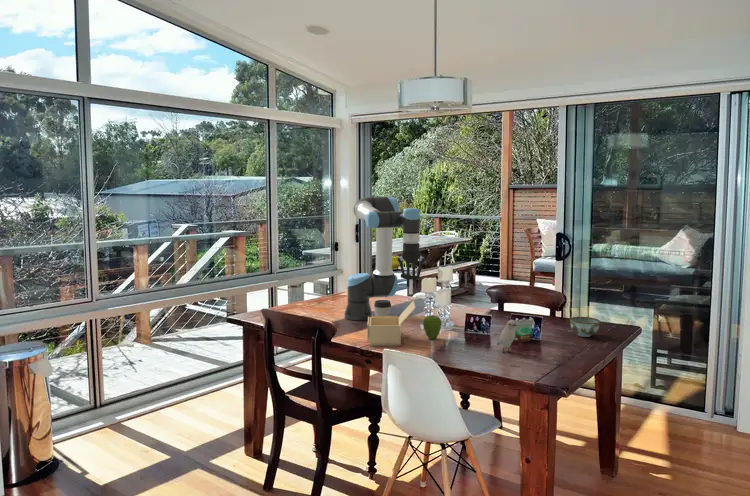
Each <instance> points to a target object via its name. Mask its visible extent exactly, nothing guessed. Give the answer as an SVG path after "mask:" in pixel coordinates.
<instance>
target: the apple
mask: <svg viewBox="0 0 750 496" xmlns="http://www.w3.org/2000/svg"><path fill="white" fill-rule="evenodd" d="M422 323H423V324H422V325H423V330H424V332H425V334H426V336H427V338H428V339H429V340H436V339H437V338H438V337H439V334H440V332H441V329H442V325H443V324H442V320H441V318H440V317H439V316H438V315H433V314H431V315H427V316H426V317H424V318H423V321H422Z"/></svg>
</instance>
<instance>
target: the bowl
mask: <svg viewBox="0 0 750 496" xmlns="http://www.w3.org/2000/svg"><path fill="white" fill-rule="evenodd" d="M569 323H570V328H571V330H572V331H573V333H575V334H576V335H578V336H580V337H579V338H582V337H590V336H591V337H592V336H593V335H595V334H596V333H597V332H598V330H599V328H600V323H601V320H600V319H599V318H593V317H589V316H573V317H570V318H569ZM578 336H577V337H578ZM591 337H590V338H591Z"/></svg>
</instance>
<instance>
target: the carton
mask: <svg viewBox="0 0 750 496" xmlns="http://www.w3.org/2000/svg"><path fill="white" fill-rule="evenodd" d="M366 326H367V331H366V332H367V343H369V347H401V344H402V342H401V341H402V339H401V337H402V336H401V334H402V333H401V332H402V331H401V328H402V324H400V318H399V315H390V316H375V315H373V316H371V317H370V319H369V317H368V319H367V325H366Z"/></svg>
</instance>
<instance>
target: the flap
mask: <svg viewBox="0 0 750 496" xmlns="http://www.w3.org/2000/svg"><path fill="white" fill-rule="evenodd" d="M416 309H417V307H416V302H415V301H414V300H412V301H411V303H409V305H407V307H405V309H404V310H403V311H402V312H401V314H400V315H398V317H399V318H400V325H402V324H403V323H405V321H406V320H407V319H408V318H409V317H410V316H411V314H413V312H414V311H415V310H416Z"/></svg>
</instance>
